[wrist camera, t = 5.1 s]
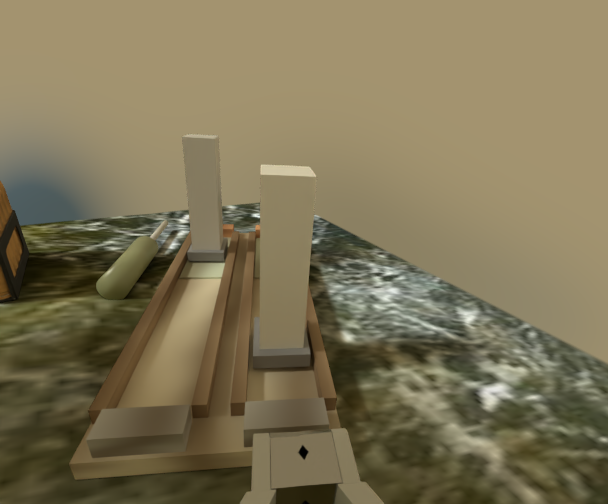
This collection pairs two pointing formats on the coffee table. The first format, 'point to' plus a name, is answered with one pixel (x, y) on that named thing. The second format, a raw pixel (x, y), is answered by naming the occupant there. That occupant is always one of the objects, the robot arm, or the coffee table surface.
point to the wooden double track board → (202, 376)
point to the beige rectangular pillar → (284, 266)
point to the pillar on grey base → (204, 197)
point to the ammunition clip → (10, 251)
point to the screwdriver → (129, 267)
